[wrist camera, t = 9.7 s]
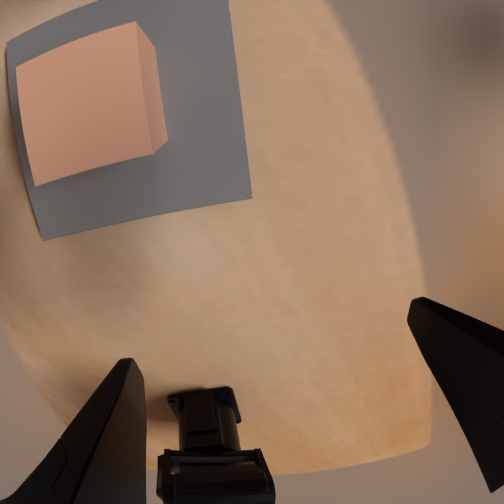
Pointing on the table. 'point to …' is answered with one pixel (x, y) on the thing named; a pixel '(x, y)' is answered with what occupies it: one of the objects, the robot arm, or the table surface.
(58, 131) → the terracotta block
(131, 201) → the slate board
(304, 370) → the table surface
